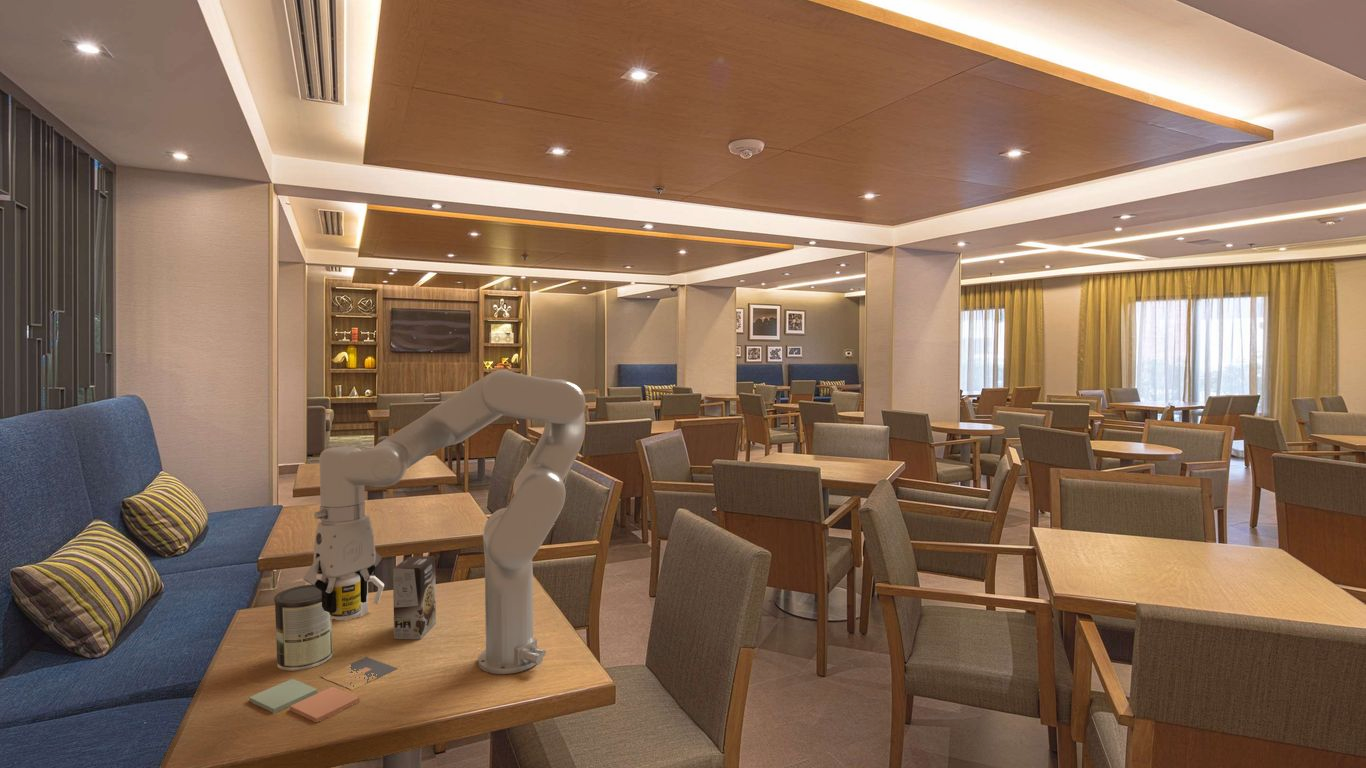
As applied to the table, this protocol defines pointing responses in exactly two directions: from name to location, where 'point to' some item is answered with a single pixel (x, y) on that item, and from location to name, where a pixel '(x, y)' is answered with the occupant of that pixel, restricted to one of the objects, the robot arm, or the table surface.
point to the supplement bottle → (347, 596)
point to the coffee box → (414, 597)
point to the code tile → (371, 668)
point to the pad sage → (283, 695)
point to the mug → (365, 605)
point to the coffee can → (302, 629)
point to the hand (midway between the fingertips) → (345, 605)
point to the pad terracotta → (324, 704)
